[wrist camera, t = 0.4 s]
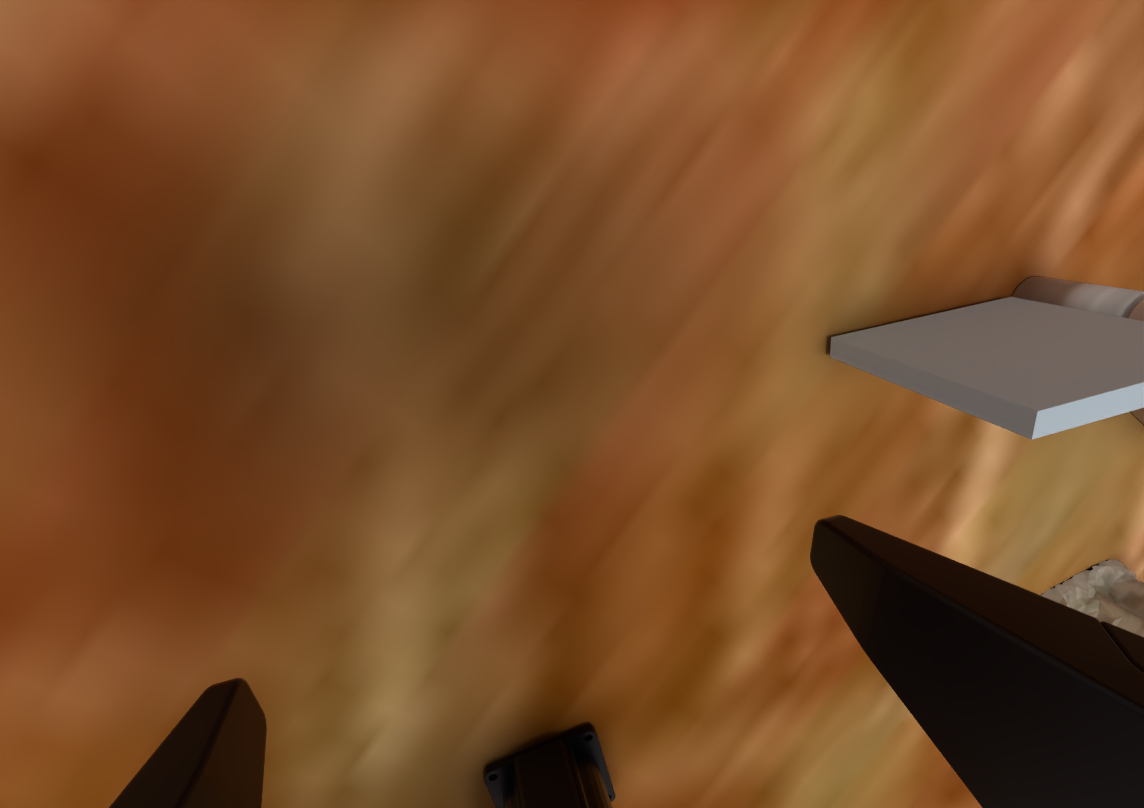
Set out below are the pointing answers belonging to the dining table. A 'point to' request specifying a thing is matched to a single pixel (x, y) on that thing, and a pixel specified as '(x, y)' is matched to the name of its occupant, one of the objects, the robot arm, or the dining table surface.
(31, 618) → the dining table surface
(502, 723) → the dining table surface
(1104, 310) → the walnut leaf
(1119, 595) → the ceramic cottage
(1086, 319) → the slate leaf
